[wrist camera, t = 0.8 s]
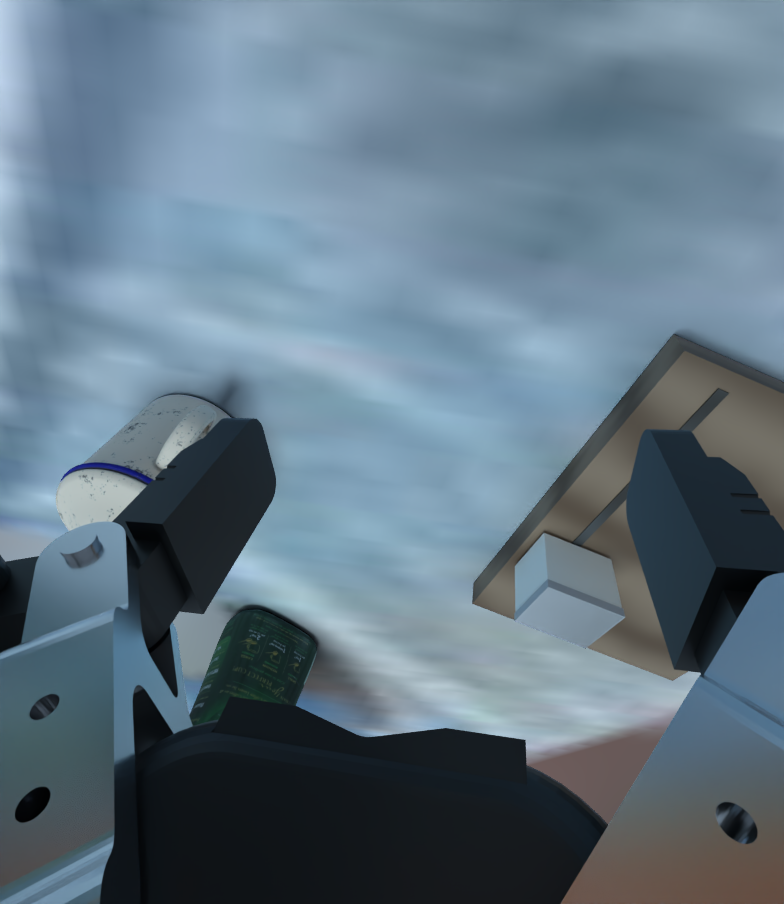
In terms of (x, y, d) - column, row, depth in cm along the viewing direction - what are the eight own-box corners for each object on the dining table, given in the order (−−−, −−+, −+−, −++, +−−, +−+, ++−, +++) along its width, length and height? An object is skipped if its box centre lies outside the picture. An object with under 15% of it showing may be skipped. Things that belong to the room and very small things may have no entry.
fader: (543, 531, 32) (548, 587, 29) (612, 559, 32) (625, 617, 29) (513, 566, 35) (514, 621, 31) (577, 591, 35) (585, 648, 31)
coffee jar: (219, 624, 52) (109, 833, 38) (251, 596, 48) (139, 821, 33) (294, 666, 55) (217, 877, 40) (331, 642, 50) (259, 870, 35)
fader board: (673, 334, 25) (685, 351, 24) (966, 462, 26) (997, 487, 25) (473, 583, 40) (472, 604, 38) (666, 658, 41) (672, 681, 40)
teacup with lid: (230, 505, 40) (149, 629, 31) (128, 444, 38) (8, 558, 29) (295, 413, 33) (215, 539, 24) (174, 333, 31) (36, 437, 22)
